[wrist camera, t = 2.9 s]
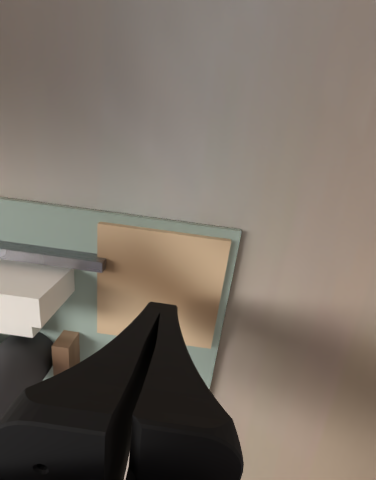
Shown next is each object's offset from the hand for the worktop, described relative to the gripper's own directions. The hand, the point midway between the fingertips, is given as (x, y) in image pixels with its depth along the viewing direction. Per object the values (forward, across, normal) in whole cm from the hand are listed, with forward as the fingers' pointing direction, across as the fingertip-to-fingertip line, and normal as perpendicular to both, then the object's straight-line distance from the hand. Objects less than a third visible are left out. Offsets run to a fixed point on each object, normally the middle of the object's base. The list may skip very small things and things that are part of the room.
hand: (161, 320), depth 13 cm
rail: (+3, +12, -1) cm, 12 cm away
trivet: (+3, 0, 0) cm, 3 cm away
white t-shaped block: (+3, +8, +1) cm, 9 cm away
